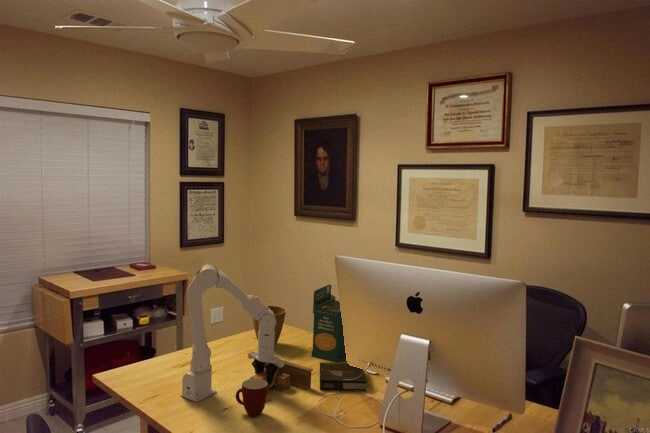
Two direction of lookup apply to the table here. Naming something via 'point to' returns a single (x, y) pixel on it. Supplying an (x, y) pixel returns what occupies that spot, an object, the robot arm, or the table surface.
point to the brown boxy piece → (264, 376)
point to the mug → (253, 396)
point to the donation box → (327, 327)
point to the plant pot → (279, 317)
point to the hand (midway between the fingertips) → (265, 382)
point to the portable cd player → (341, 377)
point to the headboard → (293, 376)
